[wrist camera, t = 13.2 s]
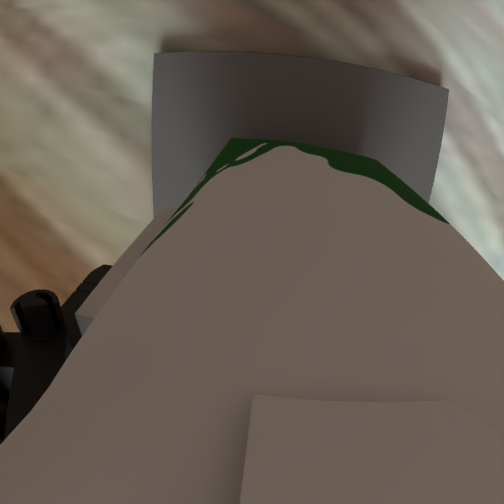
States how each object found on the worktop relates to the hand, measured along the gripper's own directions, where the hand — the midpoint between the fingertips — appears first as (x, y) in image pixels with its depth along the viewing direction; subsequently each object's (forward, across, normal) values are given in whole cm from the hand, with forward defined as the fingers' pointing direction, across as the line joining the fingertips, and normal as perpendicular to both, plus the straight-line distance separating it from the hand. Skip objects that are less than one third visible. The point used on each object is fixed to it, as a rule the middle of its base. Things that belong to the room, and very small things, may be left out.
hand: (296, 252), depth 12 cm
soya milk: (+5, 0, 0) cm, 5 cm away
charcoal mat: (+7, 0, 0) cm, 7 cm away
